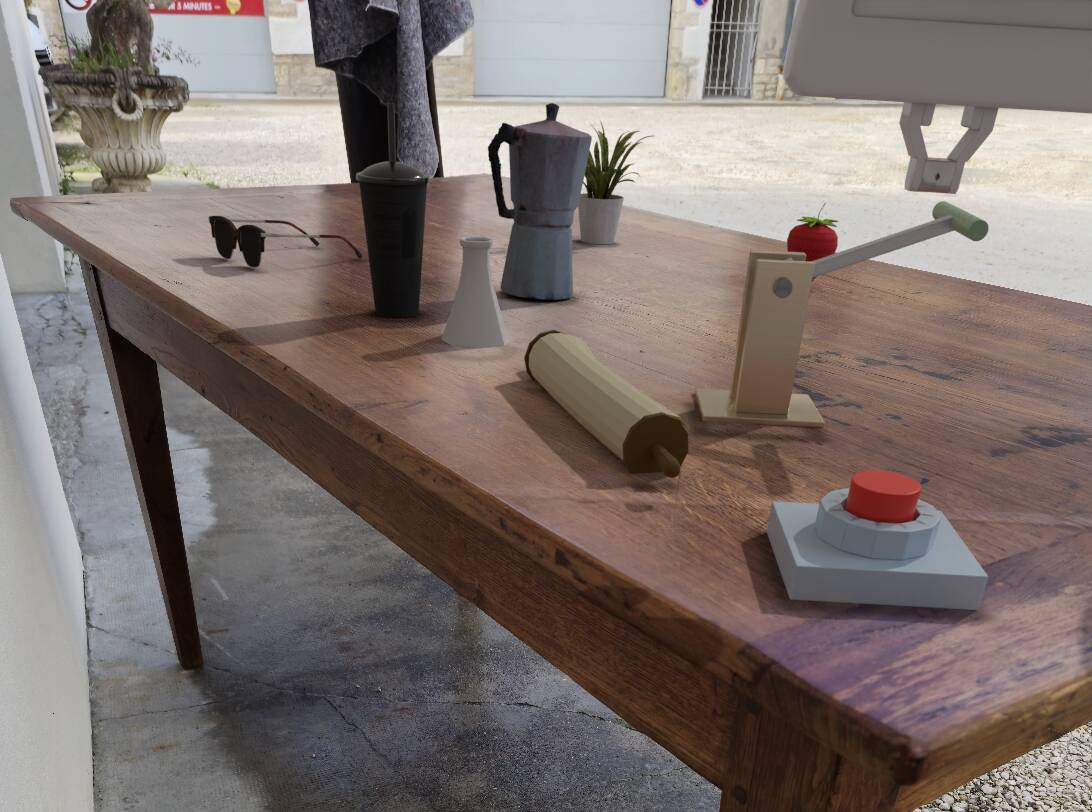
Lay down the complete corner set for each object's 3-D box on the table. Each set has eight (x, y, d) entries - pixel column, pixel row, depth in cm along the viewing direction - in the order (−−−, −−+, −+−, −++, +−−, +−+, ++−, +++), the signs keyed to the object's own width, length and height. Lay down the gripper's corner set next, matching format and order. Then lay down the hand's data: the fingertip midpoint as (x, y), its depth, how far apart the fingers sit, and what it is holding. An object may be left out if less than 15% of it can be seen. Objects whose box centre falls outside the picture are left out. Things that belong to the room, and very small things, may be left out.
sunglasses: (210, 254, 140) (207, 213, 137) (313, 251, 150) (312, 213, 147) (263, 272, 132) (261, 228, 129) (368, 268, 142) (368, 227, 139)
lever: (951, 223, 85) (948, 191, 84) (990, 244, 77) (987, 209, 75) (755, 289, 88) (749, 260, 87) (772, 316, 80) (766, 284, 79)
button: (903, 504, 64) (911, 472, 63) (920, 529, 61) (929, 496, 60) (839, 500, 65) (846, 468, 63) (852, 525, 61) (859, 492, 60)
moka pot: (606, 294, 129) (620, 105, 118) (520, 311, 120) (526, 107, 108) (550, 281, 134) (558, 99, 123) (463, 296, 125) (463, 100, 113)
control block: (932, 541, 69) (948, 483, 67) (978, 610, 61) (998, 547, 58) (766, 532, 69) (776, 474, 67) (789, 600, 61) (802, 536, 59)
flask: (443, 356, 102) (442, 245, 96) (436, 338, 108) (435, 232, 102) (515, 356, 103) (519, 246, 98) (505, 338, 109) (508, 233, 103)
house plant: (657, 238, 166) (669, 118, 156) (645, 252, 154) (657, 124, 145) (569, 231, 168) (576, 113, 159) (551, 244, 157) (557, 118, 147)
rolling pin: (511, 376, 97) (513, 320, 94) (568, 374, 99) (571, 318, 96) (635, 505, 72) (642, 433, 69) (709, 499, 74) (719, 429, 71)
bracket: (805, 407, 93) (835, 251, 85) (822, 436, 86) (855, 269, 79) (693, 401, 93) (713, 244, 86) (701, 430, 86) (723, 262, 79)
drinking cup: (438, 308, 119) (436, 103, 108) (421, 323, 113) (417, 107, 102) (374, 303, 120) (365, 99, 109) (353, 317, 114) (342, 103, 102)
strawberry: (806, 280, 142) (821, 198, 136) (839, 292, 136) (856, 206, 130) (769, 282, 140) (783, 198, 134) (801, 293, 134) (816, 207, 128)
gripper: (816, -110, 54) (769, 187, 62) (1211, -88, 54) (1112, 209, 62) (798, -98, 60) (756, 175, 68) (1158, -78, 59) (1073, 195, 67)
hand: (929, 191), depth 65 cm, fingers closed
